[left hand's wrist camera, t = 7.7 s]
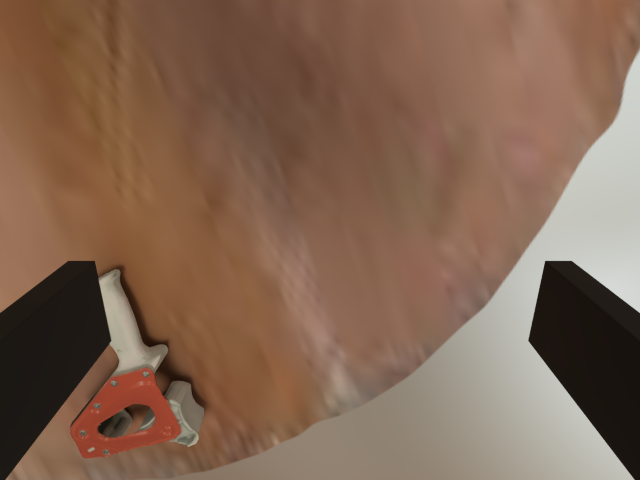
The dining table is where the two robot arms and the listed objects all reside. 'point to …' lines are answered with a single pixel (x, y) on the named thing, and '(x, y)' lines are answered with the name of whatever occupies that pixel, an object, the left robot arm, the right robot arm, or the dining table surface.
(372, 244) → the dining table surface
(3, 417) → the left robot arm
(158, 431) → the tape dispenser
